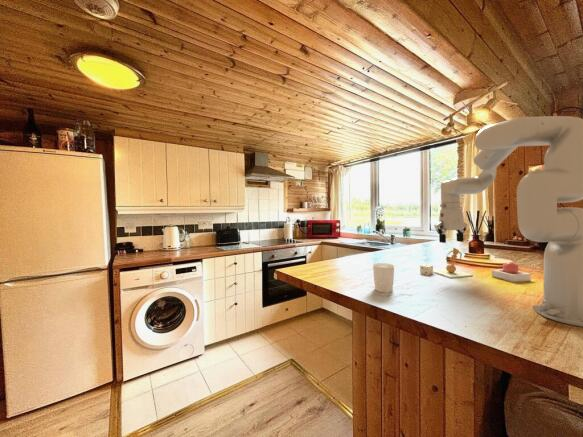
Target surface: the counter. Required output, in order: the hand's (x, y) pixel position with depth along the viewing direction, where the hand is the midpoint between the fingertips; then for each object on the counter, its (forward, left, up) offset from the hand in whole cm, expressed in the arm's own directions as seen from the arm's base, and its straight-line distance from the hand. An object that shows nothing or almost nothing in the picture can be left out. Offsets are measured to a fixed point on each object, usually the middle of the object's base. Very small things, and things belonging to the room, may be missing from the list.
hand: (451, 242), depth 113 cm
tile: (0, +1, -16) cm, 16 cm away
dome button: (+18, -12, -13) cm, 26 cm away
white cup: (-43, -11, -16) cm, 47 cm away
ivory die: (-10, +5, -16) cm, 19 cm away
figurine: (+1, +1, -15) cm, 15 cm away
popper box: (+18, -12, -16) cm, 27 cm away
